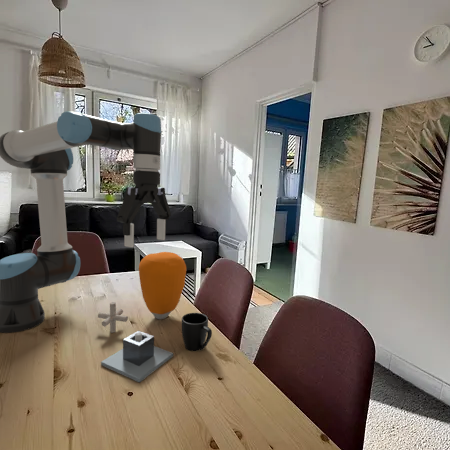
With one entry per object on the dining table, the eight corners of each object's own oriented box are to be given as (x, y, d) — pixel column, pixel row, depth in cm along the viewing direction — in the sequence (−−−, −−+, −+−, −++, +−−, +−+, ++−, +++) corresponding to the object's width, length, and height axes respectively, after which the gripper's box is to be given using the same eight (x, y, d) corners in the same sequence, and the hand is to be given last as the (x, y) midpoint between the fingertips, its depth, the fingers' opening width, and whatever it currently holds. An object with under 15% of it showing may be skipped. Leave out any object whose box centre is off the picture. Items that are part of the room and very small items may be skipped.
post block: (101, 365, 84) (100, 338, 83) (137, 342, 97) (137, 318, 96) (139, 382, 78) (139, 353, 77) (173, 356, 90) (173, 330, 89)
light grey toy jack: (118, 340, 97) (118, 311, 96) (90, 336, 99) (90, 307, 98) (133, 326, 107) (133, 299, 106) (108, 322, 109) (107, 295, 107)
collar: (122, 359, 86) (123, 339, 85) (138, 349, 91) (138, 330, 90) (139, 366, 83) (139, 345, 82) (153, 355, 88) (154, 336, 88)
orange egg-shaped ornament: (170, 305, 127) (172, 246, 123) (193, 320, 114) (196, 255, 110) (130, 315, 116) (131, 250, 112) (150, 333, 103) (152, 261, 99)
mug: (196, 363, 87) (197, 332, 86) (176, 344, 97) (176, 316, 95) (219, 354, 93) (220, 324, 91) (197, 337, 102) (198, 310, 100)
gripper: (123, 168, 75) (123, 252, 78) (183, 173, 97) (181, 238, 100) (102, 167, 78) (102, 248, 81) (164, 172, 100) (163, 235, 103)
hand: (146, 243), depth 91 cm, fingers open, 13 cm apart
